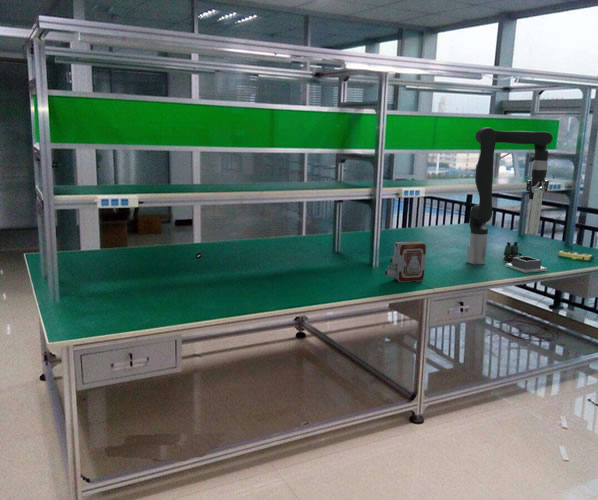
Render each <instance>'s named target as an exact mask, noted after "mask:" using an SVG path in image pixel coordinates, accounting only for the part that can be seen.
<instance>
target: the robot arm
mask: <svg viewBox="0 0 598 500" xmlns="http://www.w3.org/2000/svg"><path fill="white" fill-rule="evenodd" d="M474 138H475V140H476V142H477V143H478V144H479V145H480V151H479V158H478V161H477V164H476V168H475V174H474V175H475V176H474V177H475V178H474V179H475V180H474V181H475V186H476V189H477V192H478V196H479V197H478V198H479V203H478V204H475V205H473V206H472V207H471V209H470V213H469V229H470V236H469V245H468V246H467V252H466V253H467V254H466V255H467V256H466V263H469V264H471V265H484V264H485V263H486V255H487V246H488V245H487V243H488V236H489V235H488V233H489V229H488V228H487V226H486V224H485V223H487V222H489V221H490V220H491V219H492V217H493V179H494V164H495V163H494V162H495V161H494V160H495V148H496V143H497V144H499V143H500V144H502V143H503V144H514V145H534V146H533V148H534V155H533V162H532V169H531V174H530V175H531V180H526V186H525V187H526V189H525V190H526V192H528V200H529V199H533V194H534V193H533V192H534V190H535V189H538V190H542V192H543V197H542V200H543V198H544V194H545V193H546V192H548V189H549V184H550V180H546V178H547V172H548V165H549V163H548V160H549V151H548V150H547V145H548V146H549V144H551V143H552V142H553V141H554V140H553V139H554V137H553V134H552V133H551V132H548V131H529V130H528V131H527V130H510V131H509V130H507V131H506V130H495V129H493V128H492V127H482V128H480V129H478V130H477V132H476V133H475V137H474Z"/></svg>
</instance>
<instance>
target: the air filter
mask: <svg viewBox="0 0 598 500" xmlns="http://www.w3.org/2000/svg"><path fill="white" fill-rule="evenodd" d="M533 193H534V194H533V199H529V198H528V209H527V217H526V224H525V232H524V234H526V235H530V236H531V235H532V236H537V235H538V233H539V226H540V218H541V211H542V204H543V199H542V197H543V198H544V195H543V192H542V190H539V189H538V188H536V189H535V190H534V192H533Z"/></svg>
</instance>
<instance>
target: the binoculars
mask: <svg viewBox="0 0 598 500" xmlns="http://www.w3.org/2000/svg"><path fill="white" fill-rule="evenodd" d="M511 243H512V242H509V241H507V242H506V245H505V247H504V252H503V256H504V257H503V259H504V260H506V261H508V262H512V257H522V256H523V254H522V253H520V251H519V246H518V243H519V242H518V241H514V242H513V244H511Z"/></svg>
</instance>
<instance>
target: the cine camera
mask: <svg viewBox="0 0 598 500" xmlns="http://www.w3.org/2000/svg"><path fill="white" fill-rule="evenodd" d="M393 248H394V250H393V256H391V257H390V258H389V264H388V266H387V269H385V271H384V275H385V277H392V278H393V279H394V280H395V281H397V282H399V283H413V282H412V281H416V282H422V281H424V279H425V271H426V256H427V255H426V254H427V253H426V252H427V245H426V242H422V241H421V240H398V241H395V242H394V247H393ZM391 264H392V265H391Z"/></svg>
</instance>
